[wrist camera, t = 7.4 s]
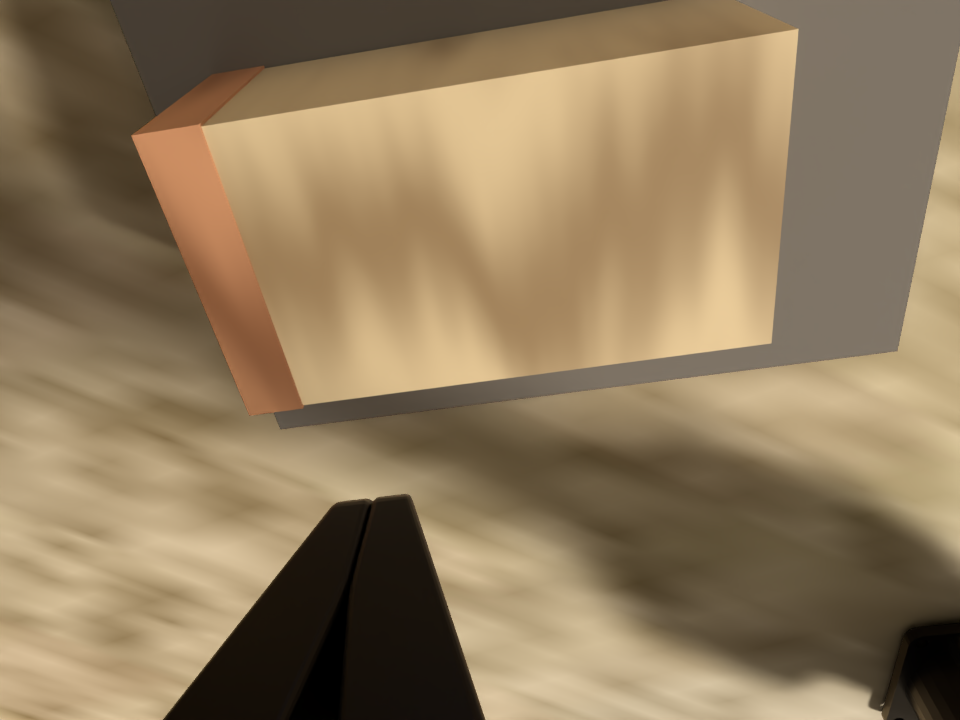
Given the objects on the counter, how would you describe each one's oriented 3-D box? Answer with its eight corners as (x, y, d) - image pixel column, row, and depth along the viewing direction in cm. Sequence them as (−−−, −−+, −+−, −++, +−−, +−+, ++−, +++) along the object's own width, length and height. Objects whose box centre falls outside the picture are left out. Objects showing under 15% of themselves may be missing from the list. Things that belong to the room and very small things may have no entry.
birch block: (771, 346, 15) (249, 415, 16) (709, 250, 19) (292, 309, 19) (800, 25, 11) (130, 135, 12) (716, -11, 15) (211, 74, 16)
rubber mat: (886, 339, 21) (897, 351, 20) (284, 417, 22) (280, 429, 22) (1010, -305, 13) (1032, -312, 13) (74, -124, 14) (60, -124, 14)
